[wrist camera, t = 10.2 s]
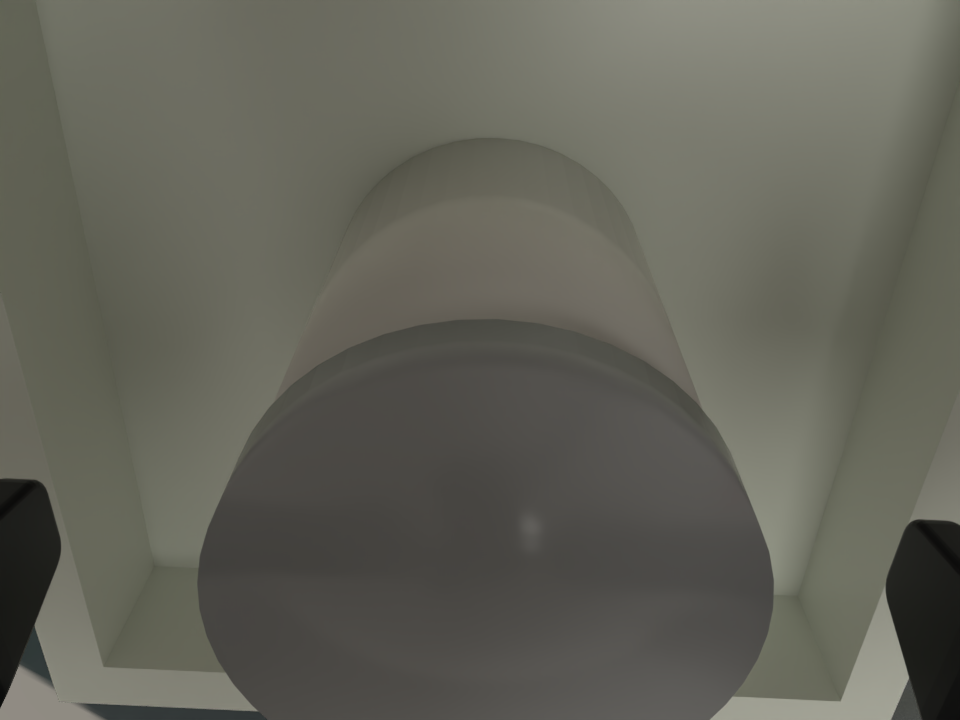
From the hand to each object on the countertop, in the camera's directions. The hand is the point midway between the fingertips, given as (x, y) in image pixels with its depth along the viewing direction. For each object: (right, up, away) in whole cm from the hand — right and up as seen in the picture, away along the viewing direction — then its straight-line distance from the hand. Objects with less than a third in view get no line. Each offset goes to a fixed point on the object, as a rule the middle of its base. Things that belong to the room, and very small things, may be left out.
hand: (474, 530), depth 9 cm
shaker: (0, +3, +5) cm, 6 cm away
